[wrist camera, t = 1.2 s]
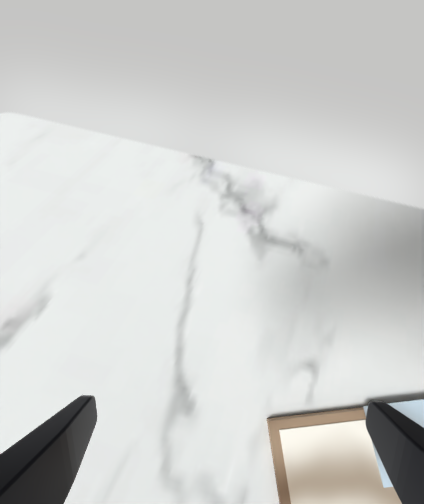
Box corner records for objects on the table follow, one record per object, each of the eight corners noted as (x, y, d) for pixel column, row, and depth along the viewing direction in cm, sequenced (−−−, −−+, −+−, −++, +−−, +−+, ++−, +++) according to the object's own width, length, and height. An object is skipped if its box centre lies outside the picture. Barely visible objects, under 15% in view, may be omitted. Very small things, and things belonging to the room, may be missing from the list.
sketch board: (502, 561, 18) (515, 571, 17) (292, 588, 18) (295, 600, 17) (445, 393, 21) (453, 395, 20) (266, 414, 21) (268, 418, 20)
